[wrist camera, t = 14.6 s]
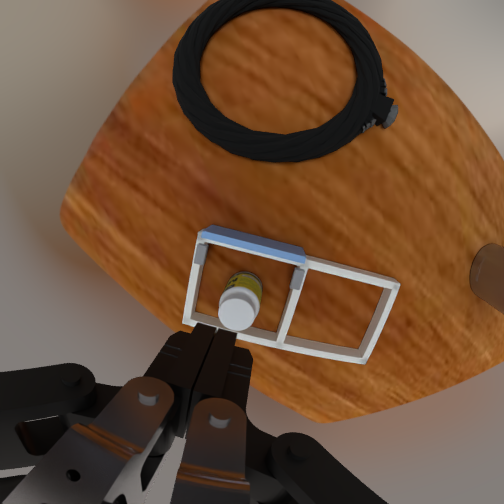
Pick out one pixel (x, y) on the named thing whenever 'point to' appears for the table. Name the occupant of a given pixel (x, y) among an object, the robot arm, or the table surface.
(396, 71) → the table surface
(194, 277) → the two-slot divided caddy
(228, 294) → the supplement bottle
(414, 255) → the table surface
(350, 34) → the cable lock
